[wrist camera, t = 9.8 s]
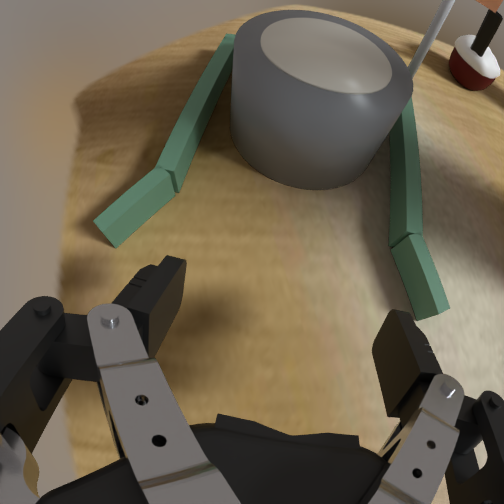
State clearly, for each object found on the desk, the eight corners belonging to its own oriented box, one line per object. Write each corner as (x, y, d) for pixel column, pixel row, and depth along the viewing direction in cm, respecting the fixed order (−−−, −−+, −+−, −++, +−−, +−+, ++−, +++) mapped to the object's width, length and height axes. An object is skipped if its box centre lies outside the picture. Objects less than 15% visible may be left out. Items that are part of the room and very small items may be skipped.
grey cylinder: (330, 76, 26) (353, 9, 18) (396, 172, 22) (446, 107, 15) (211, 94, 23) (211, 14, 16) (262, 208, 20) (281, 128, 13)
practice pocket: (434, 324, 18) (651, 233, 3) (104, 245, 19) (-50, 27, 4) (425, 112, 25) (504, -14, 10) (201, 51, 25) (201, -105, 10)
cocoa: (467, 69, 31) (504, 9, 20) (493, 102, 29) (538, 41, 18) (422, 58, 29) (461, -16, 18) (452, 93, 27) (502, 16, 16)
